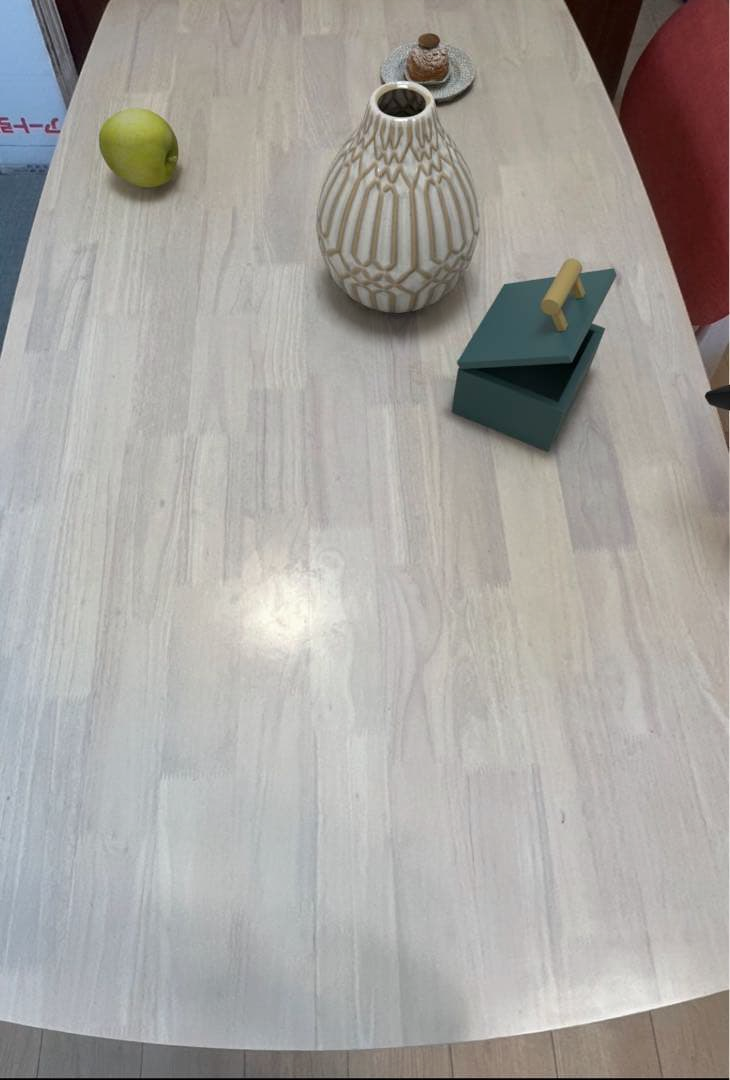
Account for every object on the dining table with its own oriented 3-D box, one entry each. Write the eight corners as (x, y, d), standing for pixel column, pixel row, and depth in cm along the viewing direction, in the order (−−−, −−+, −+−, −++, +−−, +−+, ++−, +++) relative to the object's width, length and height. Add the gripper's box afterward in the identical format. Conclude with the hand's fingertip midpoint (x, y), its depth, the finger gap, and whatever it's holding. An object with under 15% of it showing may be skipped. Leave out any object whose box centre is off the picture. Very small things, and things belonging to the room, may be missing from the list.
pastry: (482, 56, 98) (486, 19, 94) (464, 114, 93) (468, 76, 89) (392, 44, 99) (393, 6, 95) (370, 100, 94) (370, 62, 90)
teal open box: (588, 372, 74) (605, 328, 69) (548, 452, 70) (563, 411, 65) (495, 336, 77) (504, 290, 71) (451, 412, 73) (457, 369, 67)
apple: (176, 209, 86) (158, 145, 79) (103, 196, 87) (78, 131, 80) (200, 165, 89) (185, 99, 82) (129, 152, 90) (108, 86, 83)
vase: (335, 350, 76) (323, 176, 58) (310, 240, 83) (292, 55, 65) (487, 325, 77) (521, 147, 60) (449, 219, 84) (470, 32, 67)
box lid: (617, 275, 64) (602, 233, 61) (571, 362, 60) (554, 321, 57) (507, 290, 71) (490, 253, 68) (460, 369, 67) (439, 332, 64)
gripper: (962, 104, 47) (715, 199, 59) (907, 304, 39) (638, 366, 52) (1003, 246, 52) (769, 307, 64) (961, 446, 45) (705, 471, 57)
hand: (724, 356), depth 59 cm, fingers open, 9 cm apart
